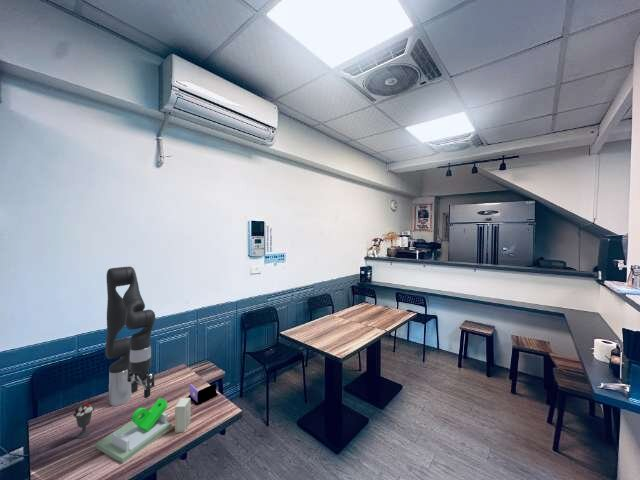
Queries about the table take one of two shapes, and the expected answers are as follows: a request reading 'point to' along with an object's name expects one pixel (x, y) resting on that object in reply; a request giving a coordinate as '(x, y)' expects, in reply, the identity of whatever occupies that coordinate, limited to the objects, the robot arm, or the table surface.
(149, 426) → the mechanical part
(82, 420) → the sundae
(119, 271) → the robot arm
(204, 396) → the miniature room corner
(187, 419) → the skincare box
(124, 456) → the pale green fixture
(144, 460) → the table surface
